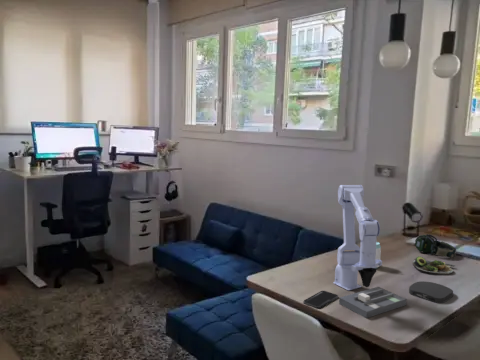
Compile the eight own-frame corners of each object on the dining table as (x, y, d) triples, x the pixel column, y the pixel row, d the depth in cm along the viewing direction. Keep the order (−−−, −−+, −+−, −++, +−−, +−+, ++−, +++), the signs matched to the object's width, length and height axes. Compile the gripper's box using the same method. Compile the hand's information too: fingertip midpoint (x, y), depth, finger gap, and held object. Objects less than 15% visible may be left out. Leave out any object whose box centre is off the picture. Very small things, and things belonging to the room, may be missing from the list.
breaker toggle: (358, 298, 165) (358, 294, 165) (362, 297, 166) (362, 292, 166) (365, 302, 162) (365, 297, 162) (369, 301, 163) (369, 296, 163)
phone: (302, 301, 168) (322, 290, 179) (302, 304, 168) (322, 292, 179) (319, 307, 163) (339, 295, 173) (319, 310, 163) (339, 298, 174)
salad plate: (447, 263, 216) (448, 254, 215) (463, 276, 198) (464, 267, 198) (408, 262, 217) (409, 253, 217) (420, 275, 200) (421, 265, 199)
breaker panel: (339, 303, 168) (339, 294, 167) (378, 292, 179) (378, 283, 178) (366, 318, 156) (366, 308, 155) (406, 305, 167) (406, 296, 166)
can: (382, 267, 208) (384, 244, 206) (371, 269, 205) (372, 245, 203) (373, 263, 214) (374, 240, 212) (361, 264, 211) (363, 241, 210)
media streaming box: (456, 295, 177) (456, 288, 177) (440, 305, 168) (441, 298, 167) (421, 284, 188) (422, 278, 188) (405, 293, 178) (405, 286, 178)
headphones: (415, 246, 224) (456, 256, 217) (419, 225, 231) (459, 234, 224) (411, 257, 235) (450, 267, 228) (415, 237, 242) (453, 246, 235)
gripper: (362, 258, 155) (360, 293, 157) (389, 251, 162) (387, 285, 164) (348, 252, 161) (346, 287, 163) (374, 246, 168) (372, 279, 170)
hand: (366, 286), depth 164 cm, fingers closed
